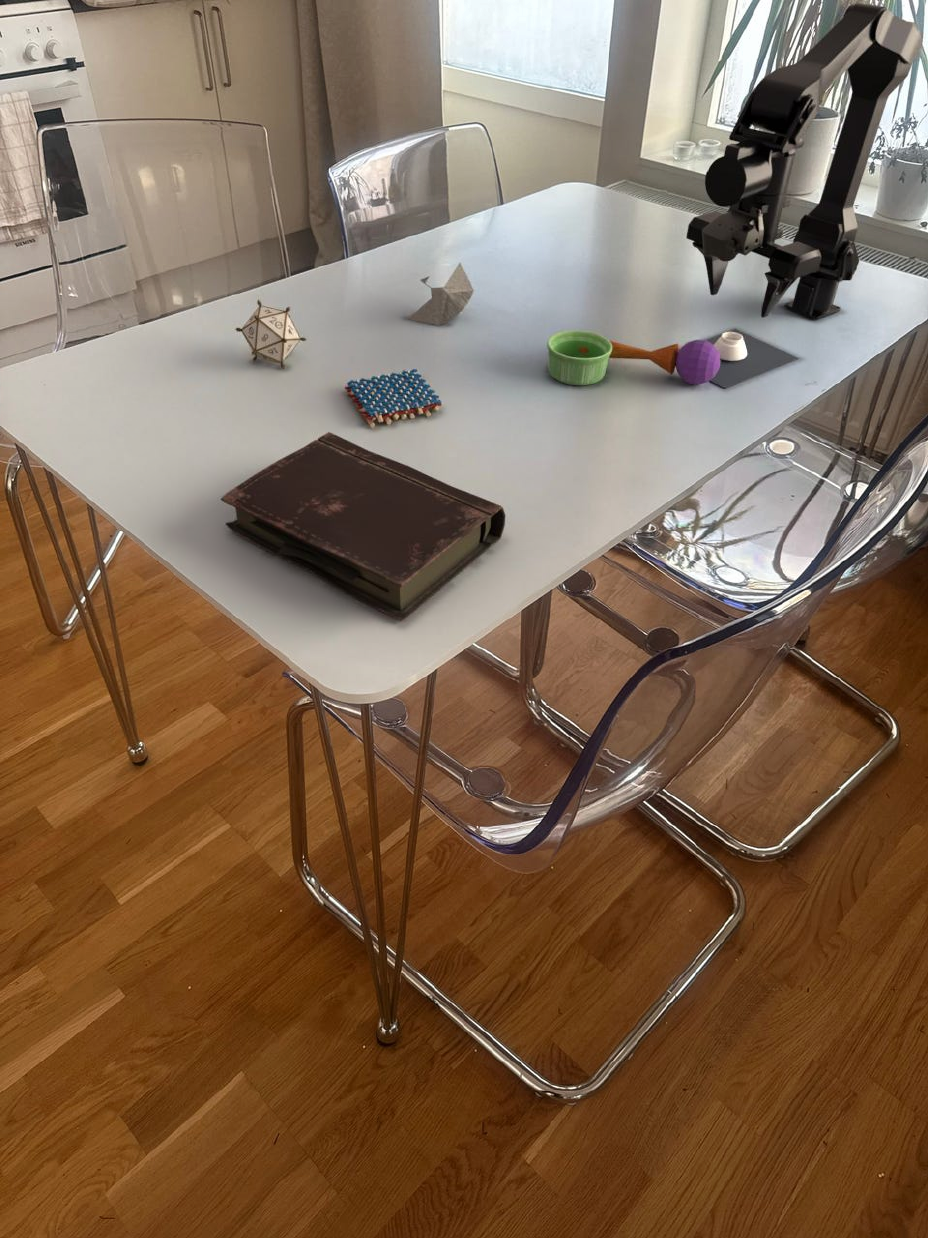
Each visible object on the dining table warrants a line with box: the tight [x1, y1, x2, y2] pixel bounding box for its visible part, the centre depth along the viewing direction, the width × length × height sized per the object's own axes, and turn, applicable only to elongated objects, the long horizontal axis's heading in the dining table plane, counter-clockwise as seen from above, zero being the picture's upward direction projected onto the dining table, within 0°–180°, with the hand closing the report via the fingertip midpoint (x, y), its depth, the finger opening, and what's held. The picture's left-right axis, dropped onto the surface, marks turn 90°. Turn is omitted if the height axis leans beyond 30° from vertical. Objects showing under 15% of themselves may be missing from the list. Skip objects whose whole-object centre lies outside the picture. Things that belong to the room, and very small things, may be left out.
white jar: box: [714, 331, 747, 361], centre depth 136 cm, size 5×3×5 cm
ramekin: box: [546, 329, 612, 386], centre depth 131 cm, size 9×9×4 cm
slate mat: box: [678, 328, 799, 390], centre depth 137 cm, size 16×12×1 cm
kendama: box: [578, 339, 720, 386], centre depth 131 cm, size 6×6×20 cm
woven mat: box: [344, 368, 442, 429], centre depth 124 cm, size 10×11×2 cm
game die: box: [234, 299, 308, 369], centre depth 131 cm, size 9×8×10 cm
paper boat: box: [407, 262, 475, 327], centre depth 144 cm, size 12×6×9 cm
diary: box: [220, 431, 506, 622], centre depth 101 cm, size 19×25×5 cm
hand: (738, 305), depth 132 cm, fingers open, 9 cm apart
